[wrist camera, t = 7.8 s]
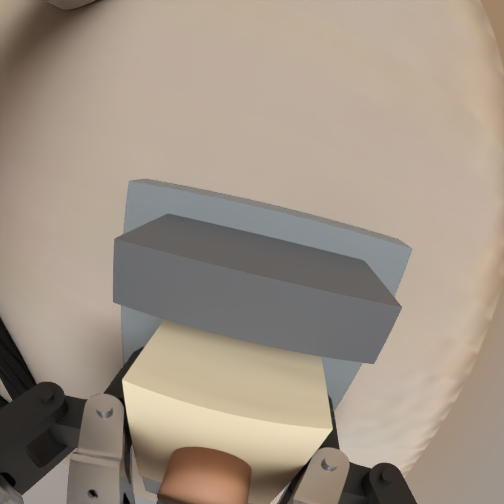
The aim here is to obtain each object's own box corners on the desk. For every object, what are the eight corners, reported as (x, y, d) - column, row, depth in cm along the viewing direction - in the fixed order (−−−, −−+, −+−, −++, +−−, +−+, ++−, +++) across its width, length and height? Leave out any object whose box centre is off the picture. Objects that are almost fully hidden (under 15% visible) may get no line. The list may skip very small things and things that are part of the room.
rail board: (145, 178, 12) (65, 192, 7) (398, 239, 12) (464, 287, 6) (149, 481, 22) (136, 515, 16) (251, 505, 21) (246, 542, 16)
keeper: (184, 291, 10) (90, 426, 4) (315, 322, 10) (339, 484, 4) (174, 395, 12) (127, 504, 6) (273, 419, 12) (264, 537, 6)
